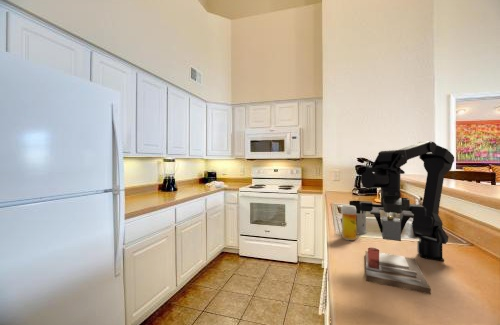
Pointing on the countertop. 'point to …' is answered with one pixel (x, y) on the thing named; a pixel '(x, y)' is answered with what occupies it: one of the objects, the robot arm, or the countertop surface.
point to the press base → (398, 273)
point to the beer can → (349, 222)
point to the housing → (391, 228)
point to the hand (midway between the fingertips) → (390, 233)
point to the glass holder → (359, 218)
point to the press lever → (373, 260)
